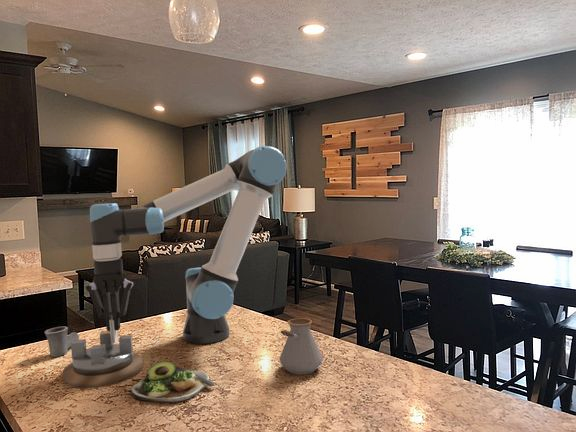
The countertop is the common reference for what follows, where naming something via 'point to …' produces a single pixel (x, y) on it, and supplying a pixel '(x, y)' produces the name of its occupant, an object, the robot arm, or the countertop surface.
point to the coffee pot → (300, 348)
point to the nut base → (102, 375)
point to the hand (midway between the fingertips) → (114, 341)
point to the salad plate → (170, 383)
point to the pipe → (60, 340)
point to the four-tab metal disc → (102, 355)
